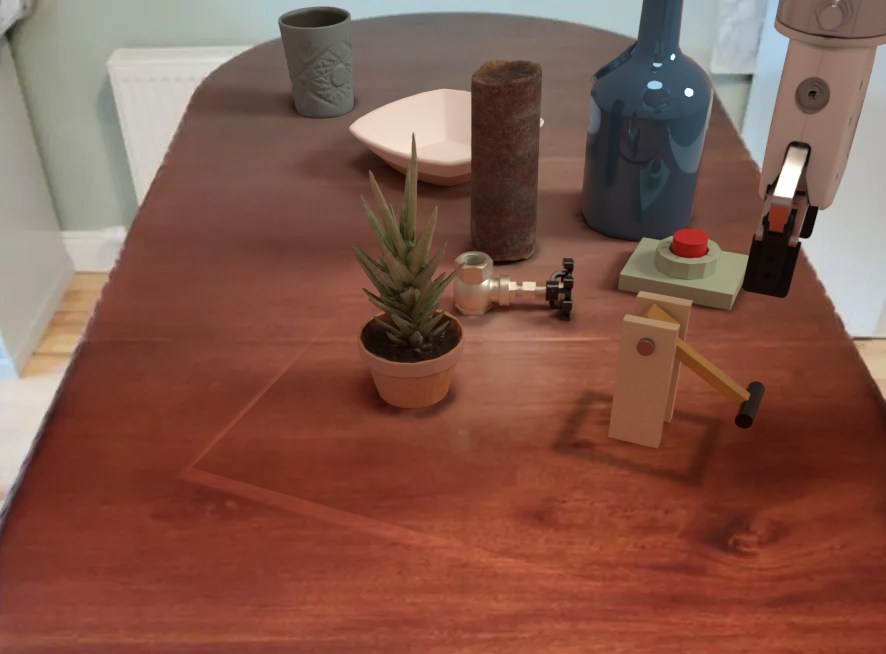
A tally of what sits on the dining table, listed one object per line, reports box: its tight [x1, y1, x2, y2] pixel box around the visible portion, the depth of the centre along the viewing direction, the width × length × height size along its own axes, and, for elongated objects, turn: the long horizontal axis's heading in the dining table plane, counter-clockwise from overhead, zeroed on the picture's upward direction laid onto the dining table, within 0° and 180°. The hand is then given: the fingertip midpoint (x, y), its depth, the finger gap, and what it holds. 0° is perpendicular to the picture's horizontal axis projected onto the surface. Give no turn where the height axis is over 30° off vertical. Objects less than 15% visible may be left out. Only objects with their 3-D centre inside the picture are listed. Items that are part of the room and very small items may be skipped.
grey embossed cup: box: [277, 5, 355, 119], centre depth 143 cm, size 10×10×12 cm
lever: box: [642, 304, 766, 430], centre depth 82 cm, size 12×5×2 cm, turn 66°
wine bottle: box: [580, 0, 715, 242], centre depth 108 cm, size 14×13×30 cm
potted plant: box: [351, 132, 466, 409], centre depth 85 cm, size 10×10×25 cm
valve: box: [452, 250, 575, 322], centre depth 101 cm, size 7×7×12 cm
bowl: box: [348, 88, 545, 187], centre depth 130 cm, size 22×22×5 cm
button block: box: [617, 235, 749, 311], centre depth 107 cm, size 12×9×4 cm
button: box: [671, 228, 709, 258], centre depth 105 cm, size 4×4×2 cm
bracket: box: [608, 291, 693, 449], centre depth 84 cm, size 12×9×13 cm
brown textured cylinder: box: [470, 59, 543, 262], centre depth 106 cm, size 8×7×20 cm
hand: (777, 262), depth 74 cm, fingers open, 9 cm apart
